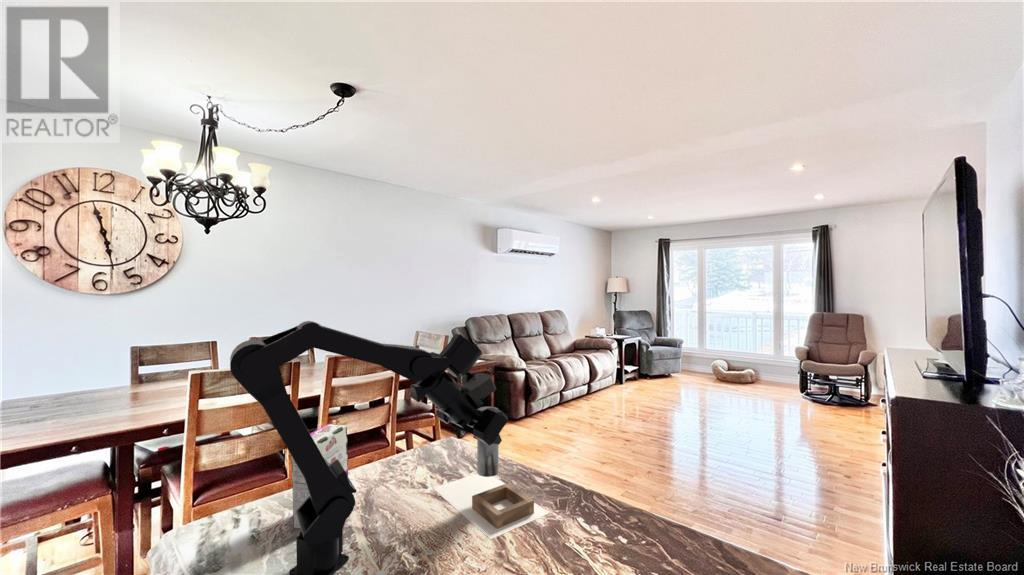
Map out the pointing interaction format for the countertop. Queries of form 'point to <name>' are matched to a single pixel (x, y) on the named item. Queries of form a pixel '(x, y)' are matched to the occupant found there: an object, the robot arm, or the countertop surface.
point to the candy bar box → (332, 448)
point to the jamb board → (466, 487)
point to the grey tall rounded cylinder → (487, 456)
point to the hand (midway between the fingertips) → (493, 438)
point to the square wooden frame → (507, 515)
